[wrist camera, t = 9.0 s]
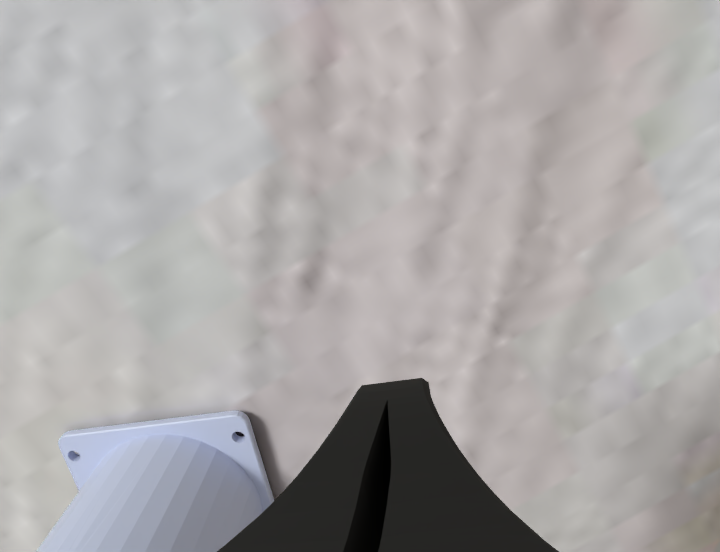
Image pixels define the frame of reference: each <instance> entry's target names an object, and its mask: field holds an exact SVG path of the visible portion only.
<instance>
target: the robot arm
mask: <svg viewBox="0 0 720 552" xmlns="http://www.w3.org/2000/svg"><path fill="white" fill-rule="evenodd" d="M235 432H241V433H243V434H244V436H243V437H242V436H238V435H236V433H235ZM58 444H59V448H60V450H61V452H62V454H63V457H64V459H65V461H66V463H67V466H68V468H69V470H70V472H71V474H72V477H73V479H74V481H75V483H76V486H77V488H78V490H79V492H78V493H77V495H76V496H75V498H74V499H73V500H72V502H71V503H70V505H69V506H68V507H67V509H66V510H65V512H64V513H63V514H62V516H61V517H60V518H59V520H58V521H57V523H56V524H55V525H54V527H53V528H52V530H51V531H50V532H49V534H48V535H47V537H46V538H45V539H44V541H43V542H42V544H41V545H40V546H39V548H38V549H37V550H36V552H559V551H557V550H556V549H555V548H553V547H552V546H551V545H549V544H548V543H547V542H546V541H544V540H543V539H542V538H541V537H540V536H539V535H538V534H536V533H535V532H534V531H533V530H532V529H531V528H530V527H529V526H527V525H526V524H525V523H524V522H523V521H522V520H521V519H520V518H519V517H517V516H516V515H515V514H514V513H513V512H512V511H511V510H510V509H509V508H508V507H507V506H506V505H505V504H504V503H503V502H502V501H501V500H500V499H499V498H498V497H497V496H496V495H495V494H494V493H493V491H492V490H491V489H490V488H489V487H488V486H487V485H486V483H485V482H484V481H483V480H482V479H481V478H480V476H479V475H478V474H477V473H476V471H475V470H474V469H473V468H472V466H471V465H470V464H469V462H468V461H467V460H466V458H465V457H464V455H463V454H462V453H461V451H460V450H459V448H458V447H457V445H456V444H455V442H454V441H453V439H452V437H451V436H450V434H449V432H448V431H447V429H446V427H445V426H444V424H443V422H442V420H441V418H440V417H439V415H438V413H437V410H436V408H435V406H434V404H433V401H432V398H431V395H430V389H429V384H428V382H427V381H425V380H424V379H423V378H418V379H410V380H402V381H394V382H386V383H378V384H370V385H362V386H361V387H360V389H359V390H358V391H357V393H356V394H355V396H354V397H353V399H352V401H351V402H350V404H349V405H348V407H347V408H346V410H345V412H344V413H343V415H342V416H341V418H340V419H339V421H338V422H337V424H336V425H335V427H334V428H333V430H332V431H331V432H330V434H329V435H328V437H327V438H326V439H325V441H324V442H323V444H322V445H321V446H320V448H319V449H318V451H317V452H316V453H315V454H314V456H313V457H312V458H311V459H310V461H309V462H308V463H307V464H306V466H305V467H304V468H303V469H302V471H301V472H300V473H299V474H298V476H297V477H296V478H295V479H294V480H293V482H292V483H291V484H290V485H289V486H288V487H287V488H286V489H285V490H284V492H283V493H282V494H281V495H280V496H279V497H278V498H277V499H276V500H275V501H274V498H273V494H272V491H271V488H270V485H269V481H268V478H267V475H266V472H265V468H264V465H263V462H262V458H261V455H260V452H259V449H258V445H257V442H256V439H255V436H254V432H253V429H252V426H251V423H250V419H249V418H248V416H247V415H246V414H245V413H243V412H241V411H226V412H218V413H210V414H201V415H193V416H185V417H177V418H169V419H161V420H152V421H144V422H136V423H128V424H120V425H111V426H103V427H95V428H87V429H79V430H70V431H67V432H65V433H64V434H63V435H62V436H61V438H60V439H59V441H58ZM74 451H76V452H77V453H79V455H78V454H76V453H75V452H74Z"/></svg>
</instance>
